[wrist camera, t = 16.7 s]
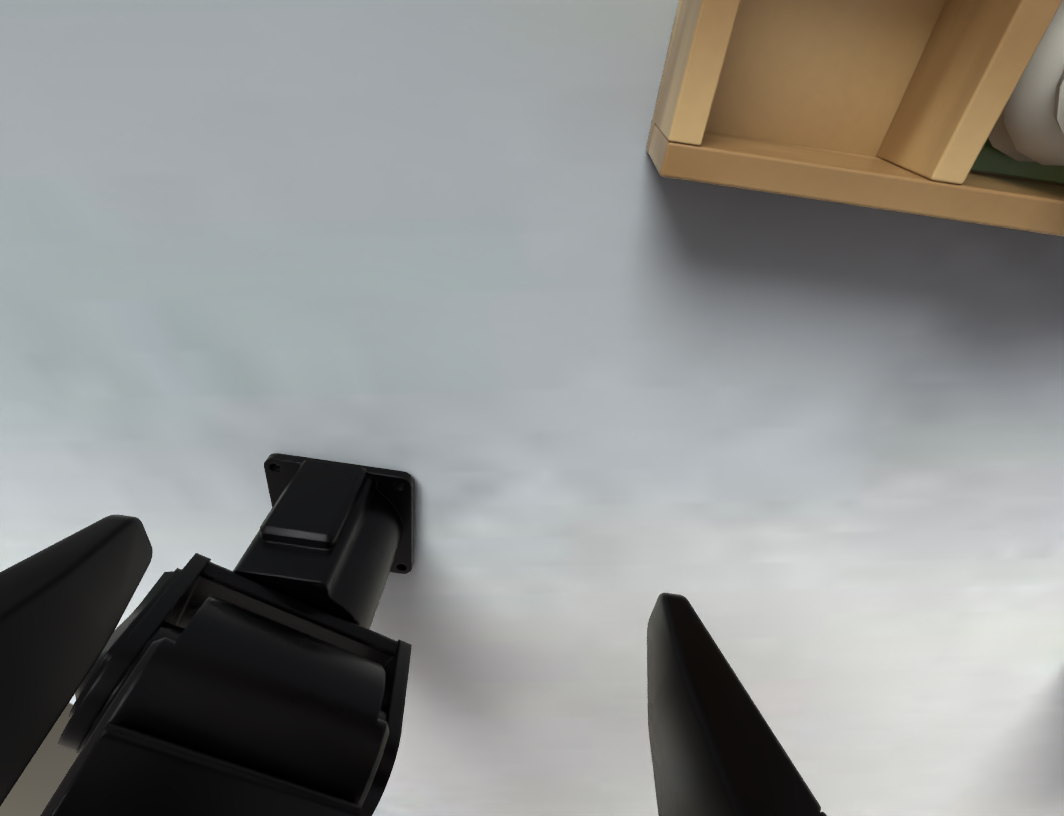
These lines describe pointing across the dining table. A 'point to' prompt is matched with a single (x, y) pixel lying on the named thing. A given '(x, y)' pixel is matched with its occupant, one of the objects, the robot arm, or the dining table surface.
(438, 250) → the dining table surface
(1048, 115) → the rook chess piece
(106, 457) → the dining table surface
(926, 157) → the rack
